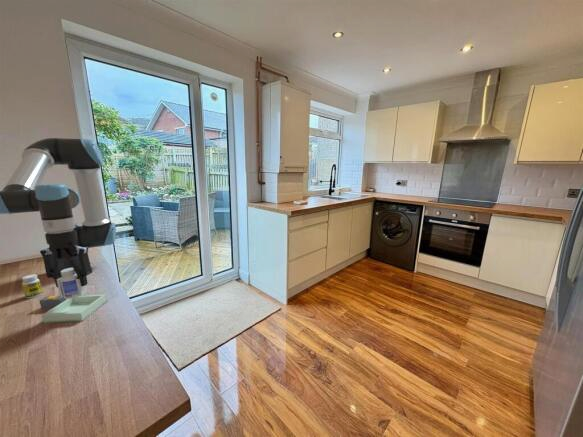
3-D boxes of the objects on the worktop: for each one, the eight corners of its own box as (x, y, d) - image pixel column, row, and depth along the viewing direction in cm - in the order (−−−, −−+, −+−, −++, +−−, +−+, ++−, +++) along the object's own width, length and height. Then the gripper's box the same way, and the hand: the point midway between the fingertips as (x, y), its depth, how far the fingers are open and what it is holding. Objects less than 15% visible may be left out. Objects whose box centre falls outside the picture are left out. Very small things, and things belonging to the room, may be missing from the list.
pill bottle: (88, 292, 85) (83, 267, 83) (70, 300, 80) (64, 273, 78) (78, 290, 87) (73, 265, 85) (59, 298, 82) (54, 271, 80)
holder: (68, 292, 98) (66, 283, 97) (86, 291, 99) (84, 283, 98) (41, 309, 87) (38, 299, 86) (61, 307, 87) (59, 298, 86)
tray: (73, 303, 90) (72, 296, 90) (107, 301, 91) (106, 294, 91) (43, 323, 78) (41, 315, 78) (82, 321, 79) (80, 313, 79)
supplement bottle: (31, 299, 94) (26, 279, 92) (22, 298, 95) (17, 278, 93) (45, 293, 98) (41, 274, 97) (37, 292, 99) (32, 273, 98)
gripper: (18, 234, 74) (35, 301, 79) (80, 232, 76) (93, 298, 80) (41, 229, 82) (55, 290, 86) (97, 227, 83) (108, 288, 88)
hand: (74, 294), depth 83 cm, fingers closed on pill bottle, 5 cm apart
